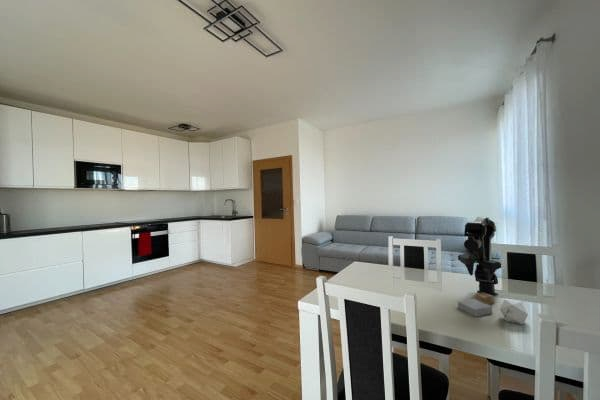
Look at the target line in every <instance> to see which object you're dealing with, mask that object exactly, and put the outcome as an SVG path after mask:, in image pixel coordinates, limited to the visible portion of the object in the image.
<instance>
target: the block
mask: <svg viewBox="0 0 600 400" xmlns="http://www.w3.org/2000/svg"><path fill="white" fill-rule="evenodd" d="M494 297H495V296H494V295H493V296H492V295H490V294H487V293H484V292H482V293H479V292H476V293H475V300H477V301H480V302H482V303H484V304H487V305H489V306H491V305H494V304H495V301H494V300H495V299H494Z"/></svg>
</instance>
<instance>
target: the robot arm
mask: <svg viewBox="0 0 600 400" xmlns="http://www.w3.org/2000/svg"><path fill="white" fill-rule="evenodd" d="M496 232H497V227H496V224H495V222H494V221H493V220H491V219H490V218H489V217H488V216H476V219H474V221H467V222H466V223H465V225H464V233H463V236H464V237H467V239H465V240H464V243H463V247H464V248H465V249H466V251H467V252H465V253H463V254H459V255H458V256H457V259H458V261H459V262H460V263H462V264H463V265H464V266H465V267H466V269H467V271H468V274H469V276H473V275H474V278H475V282H478V290H476V293H482V292H484V293H487V294H490V295H492V296H493V297H494V296H497V295H499V294H498V293H497V292H496V291H495V290H496V288H495V285H499V279H498V276H497V274H496V271H497V270H499V269H502V263H501V262H500V261H497V260H493V259H491V256H492V255H491V252H492V251H491V250H492V249H491V247H492V239H493V238H494V236H495V233H496ZM475 263H477V264H475ZM475 265H476V266H475ZM474 266H475V269H474Z"/></svg>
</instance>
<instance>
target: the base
mask: <svg viewBox="0 0 600 400" xmlns="http://www.w3.org/2000/svg"><path fill="white" fill-rule="evenodd" d="M457 308H458V309H460V310H461V311H463V312H466V313H467V314H469V315H471V316H474V317H481V316H486V315H491V314H493V307H492V306H491V305H487V304H484V303H482V302H480V301H477V300H476V298H470V299H465V300H458V301H457Z"/></svg>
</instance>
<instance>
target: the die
mask: <svg viewBox="0 0 600 400" xmlns="http://www.w3.org/2000/svg"><path fill="white" fill-rule="evenodd" d="M499 310H500V312H501V315H502V316H503V318H504V320H505V321H506V322H510V323H512V324H513V323H514V324H519V325H524V324H525V322H526V319H527V318H528V316H529V314H528V312H527V310H526V309H525V307H524V304H523V303H522V302H521V301H517V300H511V299H503V301H502V303H501V305H500V308H499Z"/></svg>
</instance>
